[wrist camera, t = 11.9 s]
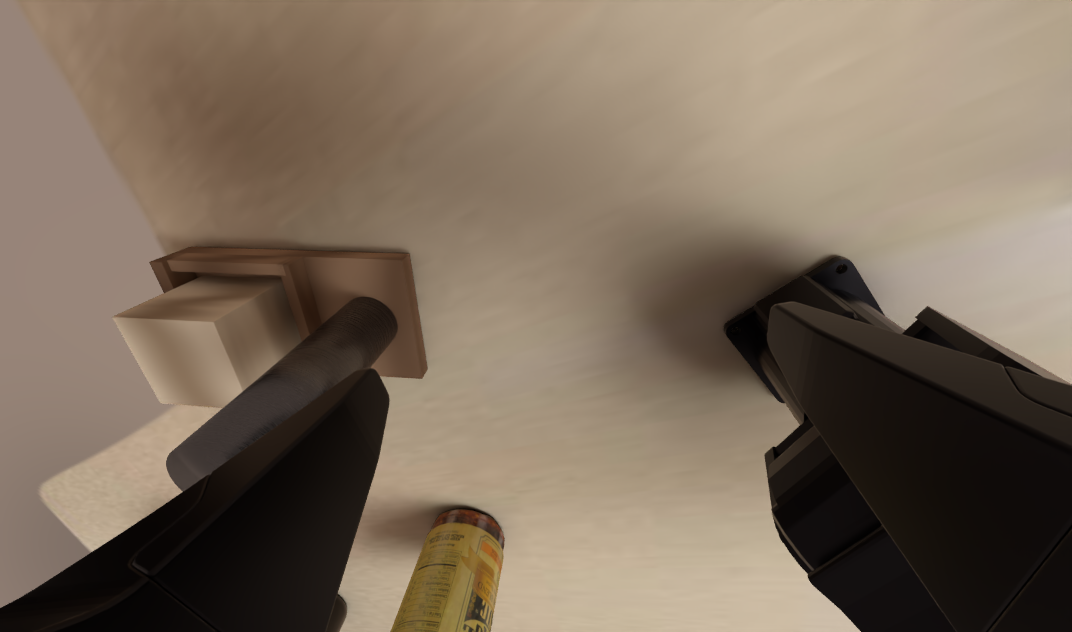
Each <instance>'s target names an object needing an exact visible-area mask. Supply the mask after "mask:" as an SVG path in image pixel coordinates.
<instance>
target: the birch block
mask: <svg viewBox="0 0 1072 632" xmlns="http://www.w3.org/2000/svg"><path fill="white" fill-rule="evenodd" d="M112 318H113V320H114V321H115V323H116V325H117V327H118V329H119V330H120V332H121V334H122V336H123V338H124V339H125V341H126V343H127V345H128V346H129V348H130V350H131V352H132V354H133V355H134V357H135V359H136V361H137V362H138V364H139V366H140V368H141V369H142V371H143V373H144V375H145V377H146V378H147V380H148V382H149V383H150V385H151V387H152V389H153V391H154V393H155V394H156V396H157V398H158V400H159V401H160V403H164V404H177V405H191V406H205V407H218V408H224V407H225V406H226V405H227V404H228V403H230V402H231V401H232V400H233V399H234V398H236V397H237V396H238V395H239V394H240V393H241V392H243V391H244V390H245V389H246V388H247V387H249V386H250V385H251V384H252V383H253V382H254V381H256V380H257V379H258V378H259V377H260V376H262V375H263V374H264V373H265V372H266V371H267V370H269V369H270V368H271V367H272V366H273V365H275V364H276V363H277V362H278V361H279V360H280V359H282V358H283V357H284V356H285V355H286V354H288V353H289V352H290V351H291V350H292V349H293V348H295V347H296V346H297V345H298V344H299V343H301V342H302V340H301V337H300V334H299V331H298V328H297V325H296V322H295V319H294V316H293V313H292V310H291V306H290V303H289V300H288V297H287V294H286V291H285V288H284V285H283V282H282V279H281V278H257V277H231V276H206V275H203V276H201V277H199V278H197V279H194V280H192V281H190V282H188V283H186V284H183V285H181V286H179V287H177V288H175V289H172V290H170V291H168V292H166V293H164V294H161V295H159V296H157V297H155V298H153V299H150V300H148V301H146V302H144V303H142V304H139V305H138V306H135V307H133V308H131V309H129V310H127V311H124V312H122V313H120V314H117V315H115V316H113V317H112Z"/></svg>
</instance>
